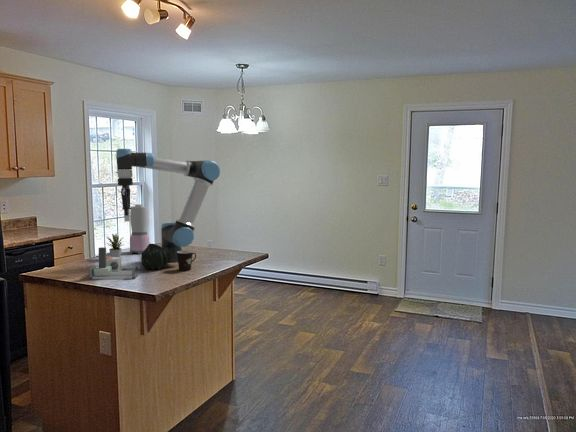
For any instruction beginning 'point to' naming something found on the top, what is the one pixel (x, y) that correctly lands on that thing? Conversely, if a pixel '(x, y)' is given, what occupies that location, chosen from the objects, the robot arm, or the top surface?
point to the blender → (139, 228)
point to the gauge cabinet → (114, 263)
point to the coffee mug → (185, 260)
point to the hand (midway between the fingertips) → (127, 221)
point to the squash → (154, 257)
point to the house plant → (115, 246)
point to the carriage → (102, 263)
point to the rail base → (115, 274)
